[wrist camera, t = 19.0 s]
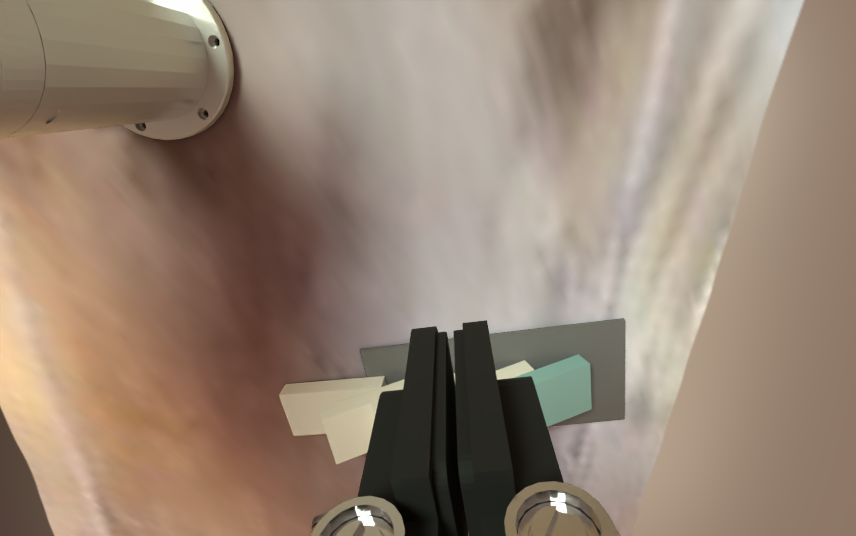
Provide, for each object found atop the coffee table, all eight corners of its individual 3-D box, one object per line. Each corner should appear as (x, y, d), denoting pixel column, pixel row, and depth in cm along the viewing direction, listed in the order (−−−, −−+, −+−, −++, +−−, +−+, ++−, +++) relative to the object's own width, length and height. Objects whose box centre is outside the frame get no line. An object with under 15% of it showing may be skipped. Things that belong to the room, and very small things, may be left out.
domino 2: (434, 413, 46) (334, 451, 43) (426, 371, 44) (319, 408, 41) (440, 424, 44) (336, 464, 42) (432, 381, 42) (321, 420, 40)
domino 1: (394, 417, 46) (299, 423, 48) (384, 376, 44) (285, 384, 46) (391, 429, 45) (293, 435, 46) (381, 387, 43) (278, 395, 44)
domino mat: (384, 438, 48) (383, 441, 48) (360, 349, 44) (359, 351, 43) (622, 416, 45) (624, 419, 45) (623, 318, 41) (625, 320, 41)
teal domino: (580, 398, 44) (483, 436, 42) (578, 354, 42) (476, 390, 40) (591, 409, 43) (492, 448, 40) (590, 363, 41) (485, 402, 38)
